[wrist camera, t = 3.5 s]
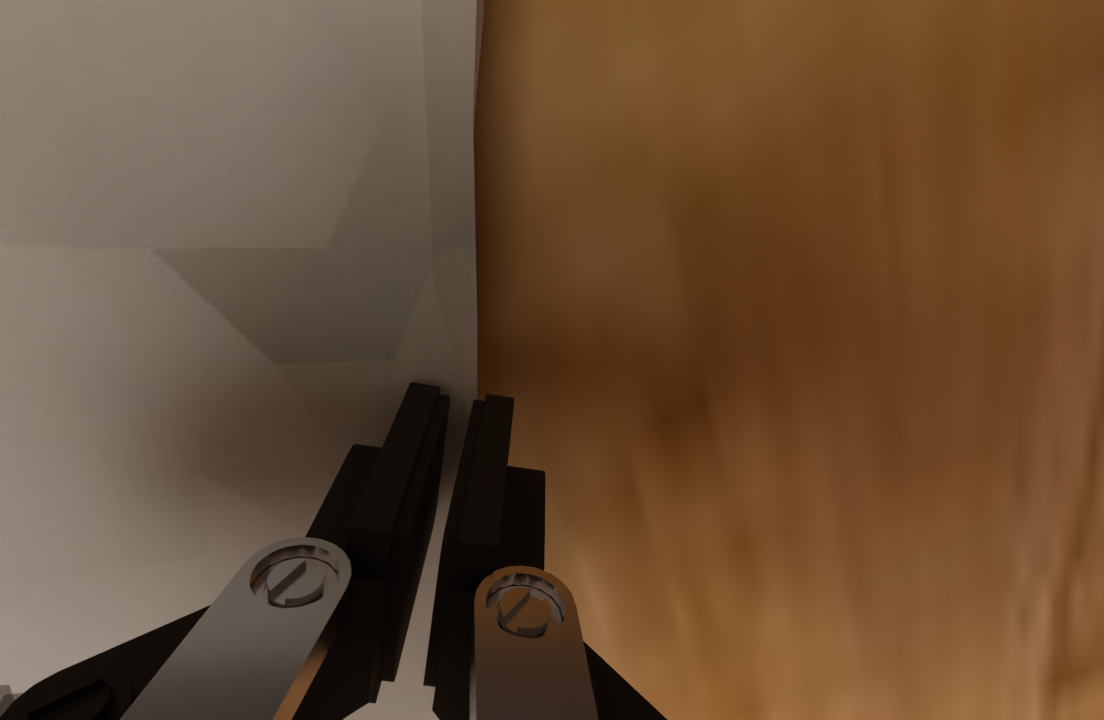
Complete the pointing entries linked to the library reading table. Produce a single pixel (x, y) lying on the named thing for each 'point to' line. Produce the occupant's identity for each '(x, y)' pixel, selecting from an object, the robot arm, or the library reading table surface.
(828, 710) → the library reading table surface
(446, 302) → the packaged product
